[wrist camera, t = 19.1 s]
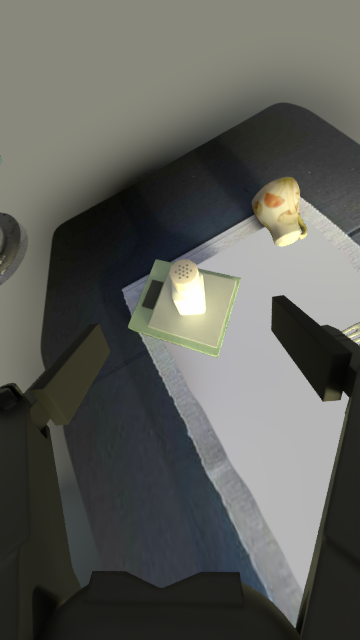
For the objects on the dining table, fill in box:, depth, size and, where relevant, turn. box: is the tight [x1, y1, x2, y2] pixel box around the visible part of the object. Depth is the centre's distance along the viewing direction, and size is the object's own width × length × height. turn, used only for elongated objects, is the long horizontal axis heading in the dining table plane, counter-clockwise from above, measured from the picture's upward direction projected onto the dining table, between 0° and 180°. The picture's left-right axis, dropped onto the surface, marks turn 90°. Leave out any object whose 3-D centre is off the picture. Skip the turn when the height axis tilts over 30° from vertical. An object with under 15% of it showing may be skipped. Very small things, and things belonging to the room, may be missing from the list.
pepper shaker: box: [169, 259, 206, 315], centre depth 26 cm, size 4×4×10 cm
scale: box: [128, 260, 241, 358], centre depth 33 cm, size 15×13×3 cm
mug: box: [252, 177, 307, 246], centre depth 33 cm, size 8×10×10 cm
